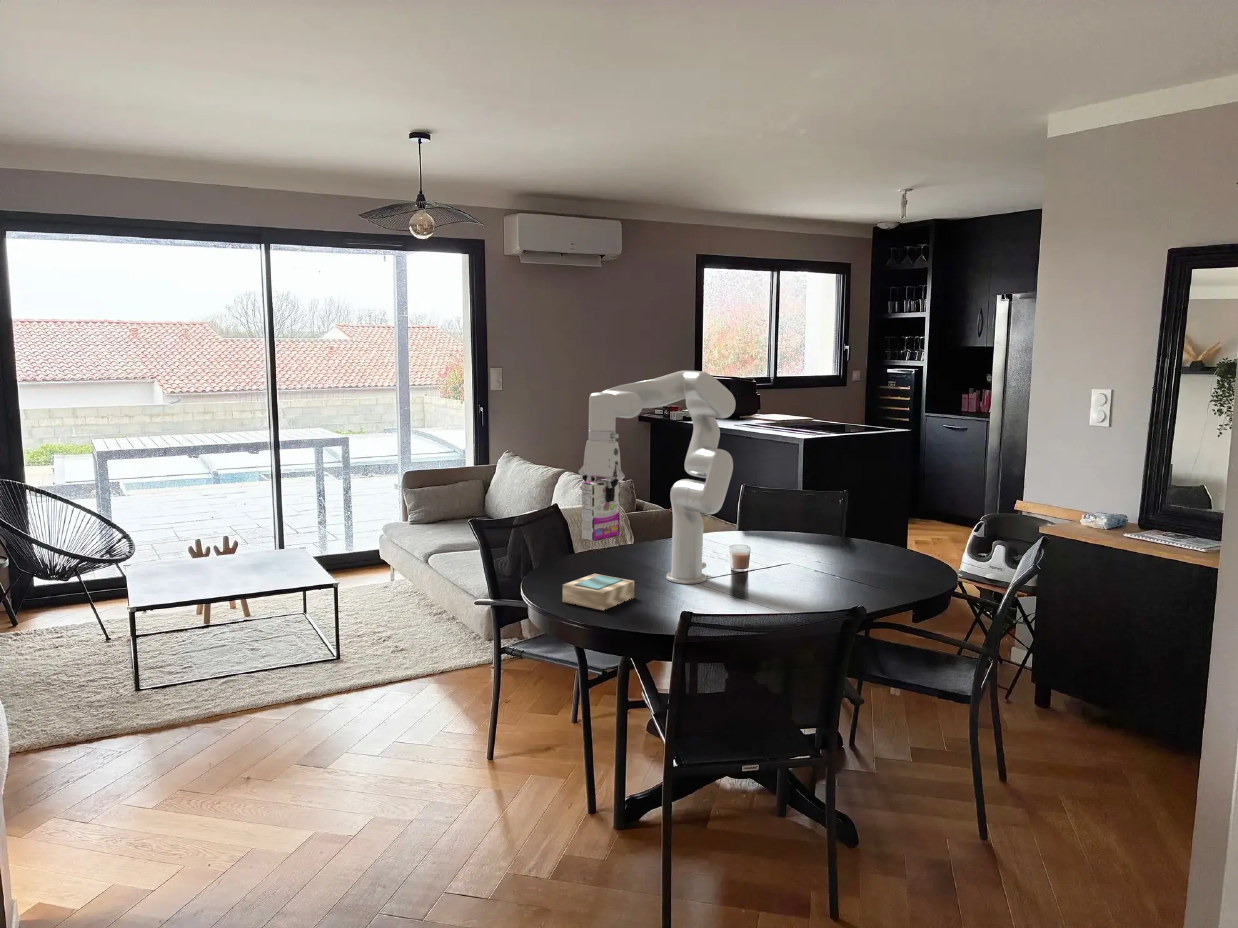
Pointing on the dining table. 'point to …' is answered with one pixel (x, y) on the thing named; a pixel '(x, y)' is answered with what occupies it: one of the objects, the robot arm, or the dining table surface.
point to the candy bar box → (599, 511)
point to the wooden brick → (598, 591)
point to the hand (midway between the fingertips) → (600, 499)
